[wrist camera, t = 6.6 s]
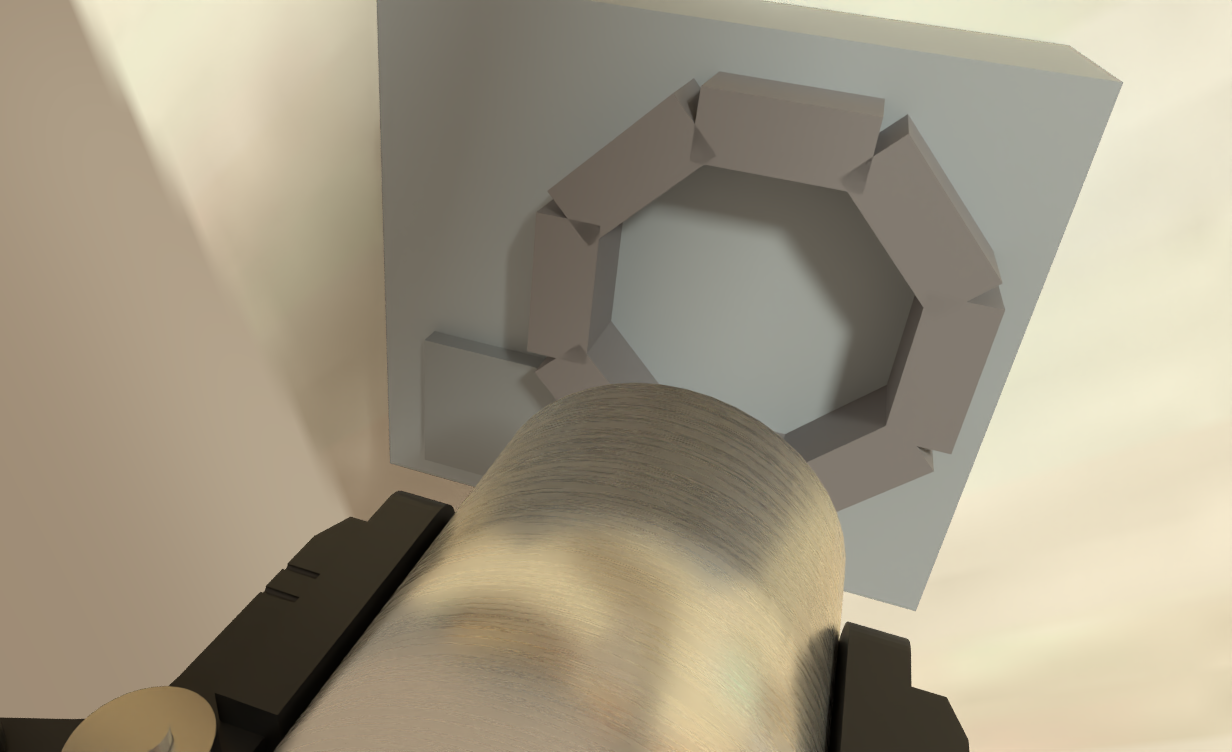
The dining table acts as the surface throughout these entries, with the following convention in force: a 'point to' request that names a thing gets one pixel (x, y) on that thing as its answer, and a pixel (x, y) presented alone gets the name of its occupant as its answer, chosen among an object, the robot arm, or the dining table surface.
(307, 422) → the dining table surface
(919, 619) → the dining table surface
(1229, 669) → the dining table surface
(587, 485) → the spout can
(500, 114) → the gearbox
